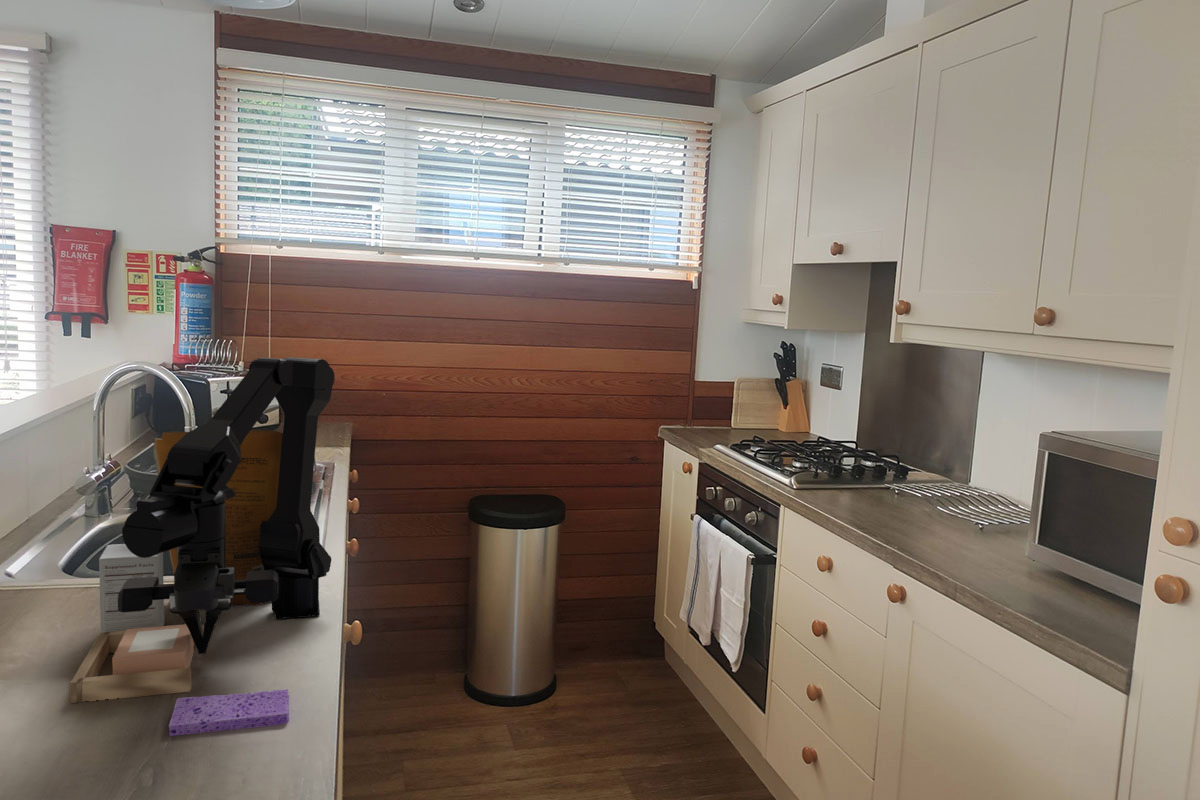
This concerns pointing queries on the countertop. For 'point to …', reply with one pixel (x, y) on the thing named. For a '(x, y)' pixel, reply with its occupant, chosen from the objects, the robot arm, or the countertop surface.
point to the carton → (153, 650)
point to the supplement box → (113, 574)
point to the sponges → (229, 712)
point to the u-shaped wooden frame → (122, 676)
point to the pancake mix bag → (241, 499)
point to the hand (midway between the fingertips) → (202, 653)
